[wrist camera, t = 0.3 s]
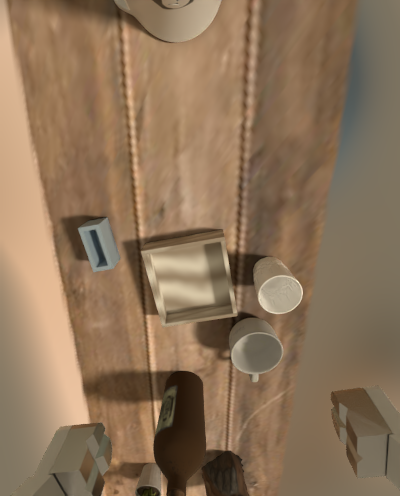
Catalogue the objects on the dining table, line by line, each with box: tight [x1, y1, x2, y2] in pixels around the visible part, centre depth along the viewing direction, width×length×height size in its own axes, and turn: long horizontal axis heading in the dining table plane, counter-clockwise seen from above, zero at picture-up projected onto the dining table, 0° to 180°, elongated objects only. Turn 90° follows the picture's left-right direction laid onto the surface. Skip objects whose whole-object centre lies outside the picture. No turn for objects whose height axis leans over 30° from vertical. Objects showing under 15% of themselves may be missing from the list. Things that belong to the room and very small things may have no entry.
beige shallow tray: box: [141, 230, 238, 327], centre depth 58 cm, size 18×16×4 cm
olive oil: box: [153, 371, 206, 496], centre depth 60 cm, size 11×11×25 cm
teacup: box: [229, 318, 283, 382], centre depth 62 cm, size 14×11×8 cm
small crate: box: [78, 217, 120, 272], centre depth 55 cm, size 9×4×5 cm, turn 11°
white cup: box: [253, 257, 303, 314], centre depth 55 cm, size 8×8×10 cm
